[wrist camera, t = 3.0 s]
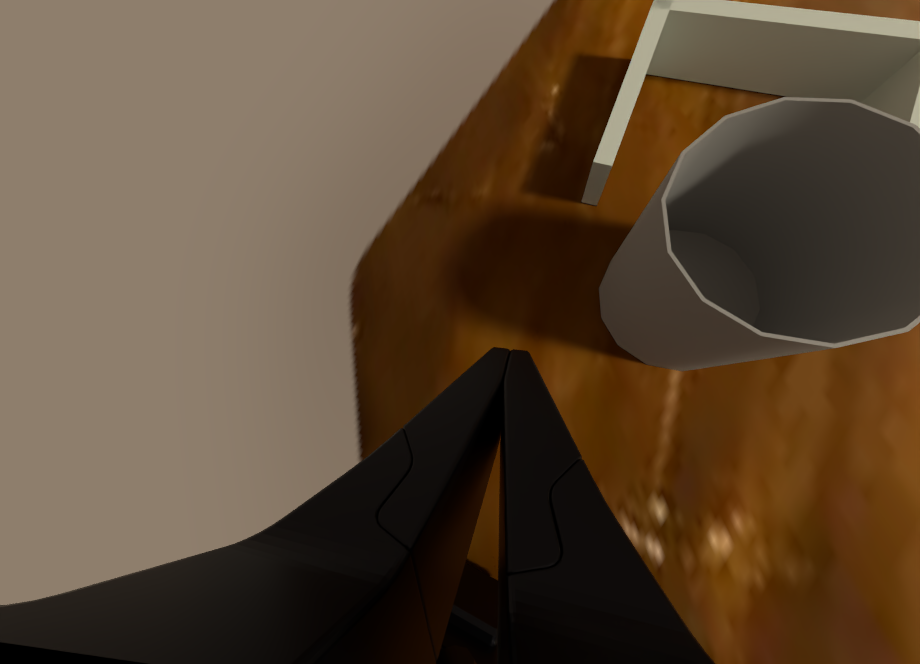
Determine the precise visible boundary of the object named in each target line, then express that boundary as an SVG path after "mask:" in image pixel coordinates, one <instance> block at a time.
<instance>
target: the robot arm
mask: <svg viewBox="0 0 920 664" xmlns="http://www.w3.org/2000/svg"><path fill="white" fill-rule="evenodd" d="M500 436H501V442H500V494H499V563H498V581H497V580H496V579H494V578H492V577H490V576H488V575H486V574H484V573H482V572H481V571H479V570H477V569H475V568H473V567H471V566H469V565H468V564H466V563H465V561H466V558H467V554H468V551H469V547H470V544H471V540H472V537H473V533H474V530H475V526H476V523H477V519H478V516H479V512H480V509H481V505H482V502H483V498H484V495H485V491H486V488H487V484H488V481H489V477H490V474H491V470H492V467H493V463H494V460H495V456H496V453H497V449H498V445H499V441H500ZM0 664H715V663H714V661H713V660H712V659H711V658H710V657H709V655H708V654H707V653H706V652H705V651H704V649H703V648H702V647H701V645H700V644H699V643H698V641H697V640H696V639H695V637H694V636H693V635H692V633H691V632H690V630H689V629H688V627H687V626H686V624H685V623H684V621H683V620H682V619H681V617H680V616H679V614H678V613H677V611H676V609H675V608H674V606H673V605H672V603H671V602H670V600H669V599H668V597H667V596H666V594H665V593H664V591H663V590H662V588H661V587H660V585H659V584H658V582H657V581H656V579H655V578H654V576H653V575H652V573H651V572H650V570H649V569H648V567H647V565H646V564H645V562H644V561H643V559H642V558H641V556H640V555H639V553H638V552H637V550H636V549H635V547H634V546H633V544H632V543H631V541H630V540H629V538H628V537H627V535H626V534H625V532H624V530H623V529H622V527H621V526H620V524H619V522H618V521H617V519H616V518H615V516H614V514H613V513H612V511H611V510H610V508H609V506H608V505H607V503H606V501H605V500H604V498H603V496H602V494H601V492H600V490H599V489H598V487H597V485H596V483H595V481H594V480H593V478H592V476H591V474H590V472H589V470H588V468H587V466H586V464H585V462H584V460H582V456H581V454H580V452H579V450H578V448H577V446H576V444H575V442H574V441H573V439H572V437H571V435H570V433H569V431H568V429H567V427H566V425H565V423H564V421H563V419H562V417H561V415H560V413H559V411H558V409H557V407H556V405H555V403H554V401H553V399H552V397H551V395H550V393H549V391H548V389H547V387H546V385H545V383H544V381H543V379H542V377H541V375H540V373H539V371H538V369H537V367H536V365H535V363H534V361H533V359H532V357H531V355H530V353H529V352H528V351H523V350H511V351H510V350H509V349H505V348H497V347H494V348H492V349H491V350H489V351H488V352H487V353H486V354H485V355H484V356H483V357H481V358H480V359H479V360H478V361H477V362H476V363H475V364H473V365H472V366H471V367H470V368H469V369H468V370H467V371H466V372H464V373H463V374H462V375H461V376H460V377H459V378H458V379H456V380H455V381H454V382H453V383H452V384H451V385H450V386H449V387H447V388H446V389H445V390H444V391H443V392H442V393H441V394H439V395H438V396H437V397H436V398H435V399H434V400H433V401H432V402H430V403H429V404H428V405H427V406H426V407H425V408H424V409H422V410H421V411H420V412H419V413H418V414H417V415H416V416H415V417H413V418H412V419H411V420H410V421H409V422H408V423H407V424H405V425H404V427H403V428H401V429H400V430H398V431H397V432H396V433H395V434H394V435H393V436H392V437H390V438H389V439H388V440H387V441H386V442H385V443H383V444H382V445H381V446H380V447H379V448H377V449H376V450H375V451H374V452H373V453H371V454H370V455H369V456H368V457H366V458H365V459H364V460H362V461H361V462H360V463H358V464H357V465H356V466H355V467H353V468H352V469H350V470H349V471H348V472H346V473H345V474H344V475H342V476H341V477H340V478H338V479H337V480H335V481H334V482H332V483H331V484H330V485H328V486H327V487H325V488H324V489H323V490H321V491H320V492H319V493H317V494H316V495H314V496H313V497H312V498H310V499H309V500H307V501H306V502H305V503H303V504H302V505H300V506H299V507H298V508H297V509H295V510H293V511H292V512H291V513H289V514H288V515H287V516H285V517H284V518H282V519H281V520H279V521H278V522H276V523H275V524H273V525H272V526H270V527H268V528H267V529H265V530H263V531H261V532H259V533H257V534H255V535H254V536H251V537H249V538H247V539H245V540H242V541H240V542H238V543H235V544H232V545H229V546H226V547H223V548H219V549H215V550H212V551H209V552H205V553H202V554H198V555H195V556H191V557H188V558H184V559H181V560H177V561H174V562H171V563H167V564H163V565H160V566H156V567H153V568H150V569H146V570H142V571H139V572H135V573H132V574H128V575H125V576H121V577H118V578H115V579H111V580H108V581H104V582H101V583H98V584H93V585H90V586H87V587H83V588H80V589H77V590H73V591H69V592H66V593H62V594H58V595H54V596H50V597H46V598H42V599H38V600H34V601H28V602H22V603H15V604H10V605H0Z"/></svg>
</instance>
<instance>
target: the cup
mask: <svg viewBox="0 0 920 664" xmlns="http://www.w3.org/2000/svg"><path fill="white" fill-rule="evenodd" d="M599 297H600V309H601V319H602V320H603V322H604V323H605V325H606V327H607V328H608V330H609V332H610V333H611V335H612V337H613V338H614V340H615V341H616V343H617V345H618V346H620V347H621V348H623V349H624V350H626V351H627V352H629V353H630V354H632V355H633V356H635V357H636V358H638V359H639V360H641V361H642V362H644V363H645V364H646V365H652V366H657V367H662V368H668V369H673V370H678V371H687V370H693V369H700V368H707V367H713V366H720V365H726V364H733V363H740V362H746V361H753V360H759V359H766V358H773V357H779V356H786V355H792V354H799V353H806V352H812V351H819V350H825V349H832V348H837V347H842V346H846V345H851V344H855V343H860V342H864V341H868V340H873V339H877V338H882V337H886V336H891V335H895V334H899V333H904V332H908V331H909V330H911V329H912V328H913V327H914V326H916V325H917V324H918V323H919V322H920V128H919V127H918V126H917V125H915V124H913V123H910V122H908V121H905V120H903V119H900V118H898V117H895V116H893V115H890V114H888V113H885V112H883V111H880V110H878V109H875V108H872V107H870V106H867V105H865V104H862V103H860V102H857V101H855V100H852V99H827V98H799V97H783V98H780V99H777V100H773V101H770V102H767V103H764V104H761V105H758V106H754V107H751V108H748V109H745V110H742V111H739V112H735V113H732V114H729V115H726V116H724V117H723V118H722V119H721V120H719V121H718V122H717V123H716V124H715V125H713V126H712V127H711V128H710V129H709V130H707V131H706V132H705V133H704V134H703V135H701V136H700V137H699V138H698V139H697V140H695V141H694V142H693V143H692V144H691V145H689V146H688V147H687V148H686V149H685V150H683V151H682V152H681V154H680V155H679V157H678V158H677V160H676V162H675V163H674V165H673V166H672V168H671V169H670V171H669V172H668V174H667V175H666V177H665V178H664V180H663V182H662V183H661V185H660V186H659V188H658V189H657V191H656V192H655V194H654V195H653V197H652V198H651V200H650V202H649V203H648V205H647V206H646V208H645V209H644V211H643V212H642V214H641V215H640V217H639V218H638V220H637V222H636V223H635V225H634V226H633V228H632V229H631V231H630V232H629V234H628V235H627V237H626V238H625V240H624V242H623V243H622V245H621V246H620V248H619V249H618V251H617V252H616V254H615V255H614V257H613V258H612V260H611V262H610V264H609V266H608V268H607V271H606V273H605V275H604V278H603V280H602V282H601V284H600V287H599Z"/></svg>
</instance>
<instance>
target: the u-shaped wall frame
mask: <svg viewBox="0 0 920 664" xmlns="http://www.w3.org/2000/svg"><path fill="white" fill-rule="evenodd" d="M646 74H649V75H655V76H661V77H668V78H674V79H680V80H686V81H692V82H699V83H705V84H711V85H717V86H724V87H730V88H736V89H742V90H749V91H755V92H761V93H767V94H774V95H780V96H786V97H799V98H827V99H852V100H855V101H857V102H860V103H862V104H865V105H867V106H870V107H872V108H875V109H878V110H880V111H883V112H885V113H888V114H890V115H893V116H895V117H898V118H900V119H903V120H905V121H908V122H910V123H913V124H915V125H917V126H918V127H919V128H920V21H912V20H902V19H893V18H884V17H874V16H865V15H856V14H847V13H837V12H828V11H819V10H809V9H800V8H791V7H781V6H772V5H763V4H754V3H744V2H735V1H726V0H654V1H653V4H652V6H651V9H650V12H649V14H648V17H647V20H646V22H645V25H644V28H643V30H642V33H641V36H640V38H639V41H638V44H637V46H636V49H635V52H634V54H633V57H632V60H631V62H630V65H629V68H628V70H627V73H626V76H625V78H624V81H623V84H622V86H621V89H620V92H619V94H618V97H617V100H616V102H615V105H614V108H613V110H612V113H611V116H610V118H609V121H608V124H607V126H606V129H605V132H604V134H603V137H602V140H601V142H600V145H599V148H598V150H597V153H596V156H595V158H594V161H593V164H592V167H591V171H590V174H589V177H588V181H587V184H586V188H585V191H584V194H583V198H582V201H581V202H583V203H587V204H591V205H595V206H597V204H598V201H599V198H600V196H601V193H602V191H603V188H604V185H605V183H606V180H607V178H608V175H609V172H610V170H611V167H612V165H613V162H614V159H615V157H616V154H617V151H618V148H619V146H620V143H621V140H622V138H623V135H624V132H625V129H626V127H627V124H628V121H629V119H630V116H631V113H632V110H633V108H634V105H635V102H636V100H637V97H638V94H639V91H640V89H641V86H642V83H643V81H644V78H645V75H646Z"/></svg>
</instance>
